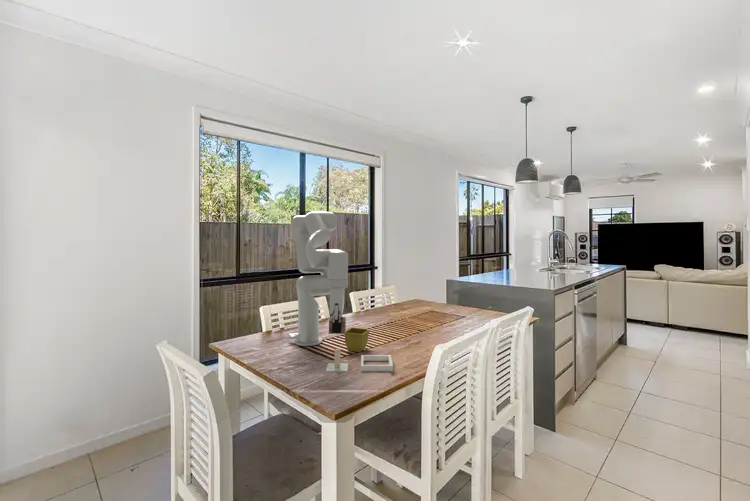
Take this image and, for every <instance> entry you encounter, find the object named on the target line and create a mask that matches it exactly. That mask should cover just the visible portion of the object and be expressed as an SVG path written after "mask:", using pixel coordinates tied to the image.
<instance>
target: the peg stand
mask: <svg viewBox="0 0 750 501" xmlns="http://www.w3.org/2000/svg"><path fill="white" fill-rule="evenodd" d="M348 369H349V363H348V362H347V363H345V362H341V349H340V348H334V362H331V363H330V362H328V363H327V365H326V369H325V372H348V371H349V370H348Z"/></svg>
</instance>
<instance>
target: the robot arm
mask: <svg viewBox="0 0 750 501" xmlns="http://www.w3.org/2000/svg"><path fill="white" fill-rule="evenodd" d="M290 221H291V222H290V232H291V234H292V235H291V236H292V238H293V240H294V241H293V242H294V243H295V249H296V261H297V262H296V263H297V268H298V271H299V272H300V273H302V274H314V275H302V276H300V277H298V278H297V280H296V283H295V288H296V294H297V303H298V304H297V308H298V309H297V310H298V311H297V319H298V320H297V327H298V328H297V330H298V331H297V332H296V333H289V334H288V338H289V339H291V340H292V339H294V344H295V345H297V346H300V347H312V346H317V345H320V344H321V343H323V339H322V338H321V337H320V336H319V335H320V334H319V332H320V330H319V324H320V323H319V322H320V321H319V320H320V317H319V313H320V311H319V310H320V307H319V303H318V301H317V300H316V299H315V296H326V295H329V311H328V312H329V314H328V315H331V316H332V317H333V322H332V332H333V333H341V322H340V321H341V317H343V313H344V308H345V306H344V305H345V289H347V288H348V287H349V254H348V252H347V251H344V250H342V249H339V248H338V249H337V248H331V249H330V248H329V249H328V248H327V249H325V248H320V249H319V247H322V246H324V245H325V244H327V243H328V242H329V241H330V239H331V236H332V233H331V232H333V231H335V230H336V228H337V227H338V218H337V216H336V214H335V213H333V212H331V211H310V212H308V213H306V215H305V214H303V215H300V214H299V215H295V216H294V217H293V218H291V220H290ZM307 234H308V235H307ZM317 248H318V249H317ZM316 273H320V275H319V274H317V275H316Z"/></svg>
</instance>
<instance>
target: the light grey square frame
mask: <svg viewBox="0 0 750 501" xmlns="http://www.w3.org/2000/svg"><path fill="white" fill-rule="evenodd" d="M392 359H393V358H392V355H391V354H361V355H360V372H390V373H394V365H393V364H394V363H393V360H392ZM364 361H367V362H368V361H369V362H370V361H371V362H373V361H375V362H376V361H377V362H379V361H382V362H384V361H385V362H386V361H387V362H388V364H364Z"/></svg>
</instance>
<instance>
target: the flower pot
mask: <svg viewBox="0 0 750 501" xmlns="http://www.w3.org/2000/svg"><path fill="white" fill-rule="evenodd" d="M369 333H370V329H367V328H361V327H360V328H359V327H350V328H348V329H347V330H345V334H344V342H345V347H346V349H347V350H348V351H350V352H357V353H360V352H362V351H364V349H365V348H366V346H367V344H368V341H369Z"/></svg>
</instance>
